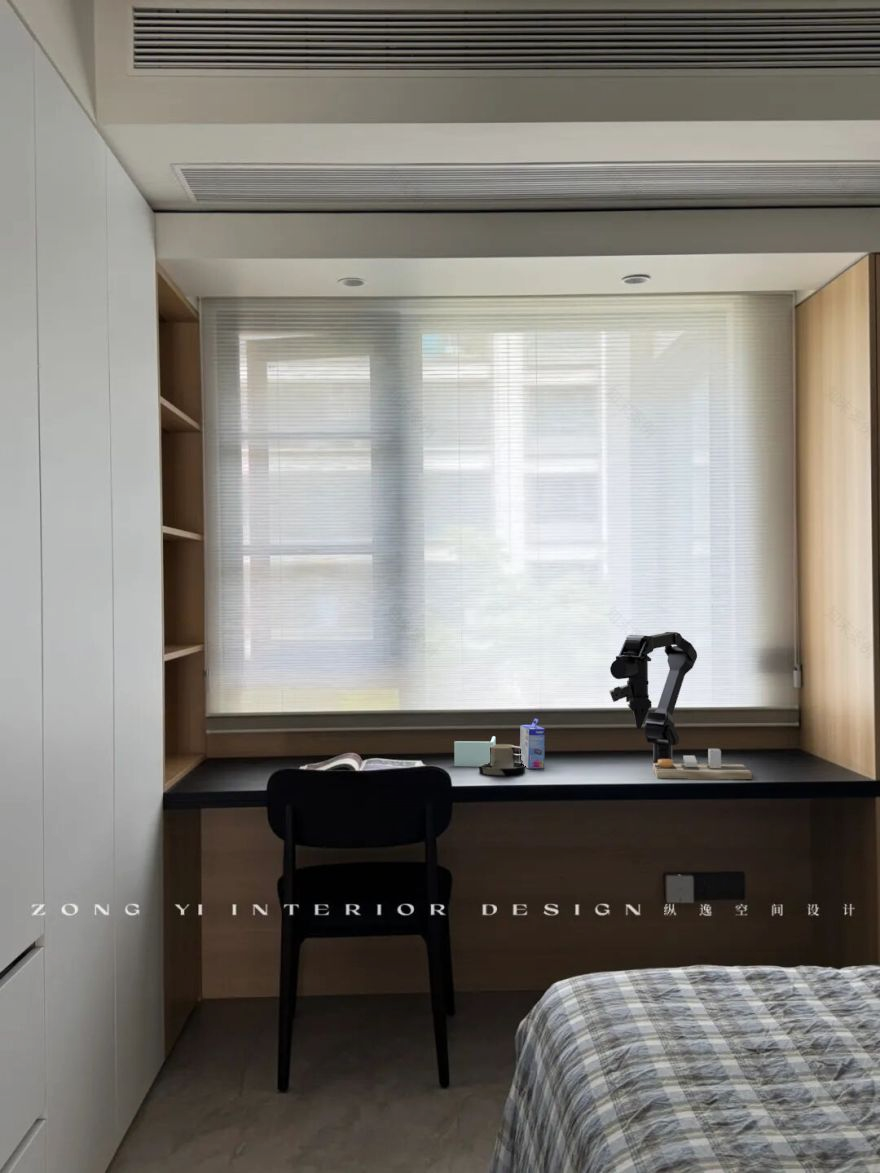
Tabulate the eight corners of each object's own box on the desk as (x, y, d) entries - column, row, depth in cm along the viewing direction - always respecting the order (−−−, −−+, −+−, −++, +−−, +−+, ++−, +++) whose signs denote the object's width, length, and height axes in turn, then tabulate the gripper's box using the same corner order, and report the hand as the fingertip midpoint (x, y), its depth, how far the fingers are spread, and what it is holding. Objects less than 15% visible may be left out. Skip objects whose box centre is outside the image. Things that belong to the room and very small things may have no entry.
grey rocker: (683, 760, 286) (683, 755, 285) (694, 760, 285) (694, 755, 285) (685, 766, 280) (685, 762, 280) (697, 766, 280) (697, 762, 279)
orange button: (657, 764, 286) (657, 758, 286) (672, 764, 285) (672, 758, 285) (658, 767, 282) (658, 761, 282) (674, 767, 281) (674, 761, 281)
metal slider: (708, 765, 284) (708, 748, 284) (718, 765, 284) (718, 748, 284) (710, 768, 280) (710, 750, 280) (721, 768, 280) (720, 750, 280)
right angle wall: (495, 759, 310) (495, 736, 310) (493, 766, 298) (493, 742, 298) (458, 759, 312) (458, 736, 312) (454, 766, 300) (454, 741, 300)
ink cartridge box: (545, 768, 294) (545, 720, 294) (528, 769, 293) (527, 721, 293) (536, 763, 304) (535, 716, 304) (519, 764, 303) (518, 717, 303)
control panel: (652, 769, 291) (652, 762, 291) (742, 770, 288) (742, 763, 288) (657, 778, 277) (657, 770, 277) (751, 780, 274) (751, 772, 274)
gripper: (609, 674, 303) (610, 724, 303) (612, 679, 284) (613, 733, 284) (645, 674, 301) (646, 724, 301) (651, 679, 283) (651, 733, 283)
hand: (638, 728), depth 292 cm, fingers closed
